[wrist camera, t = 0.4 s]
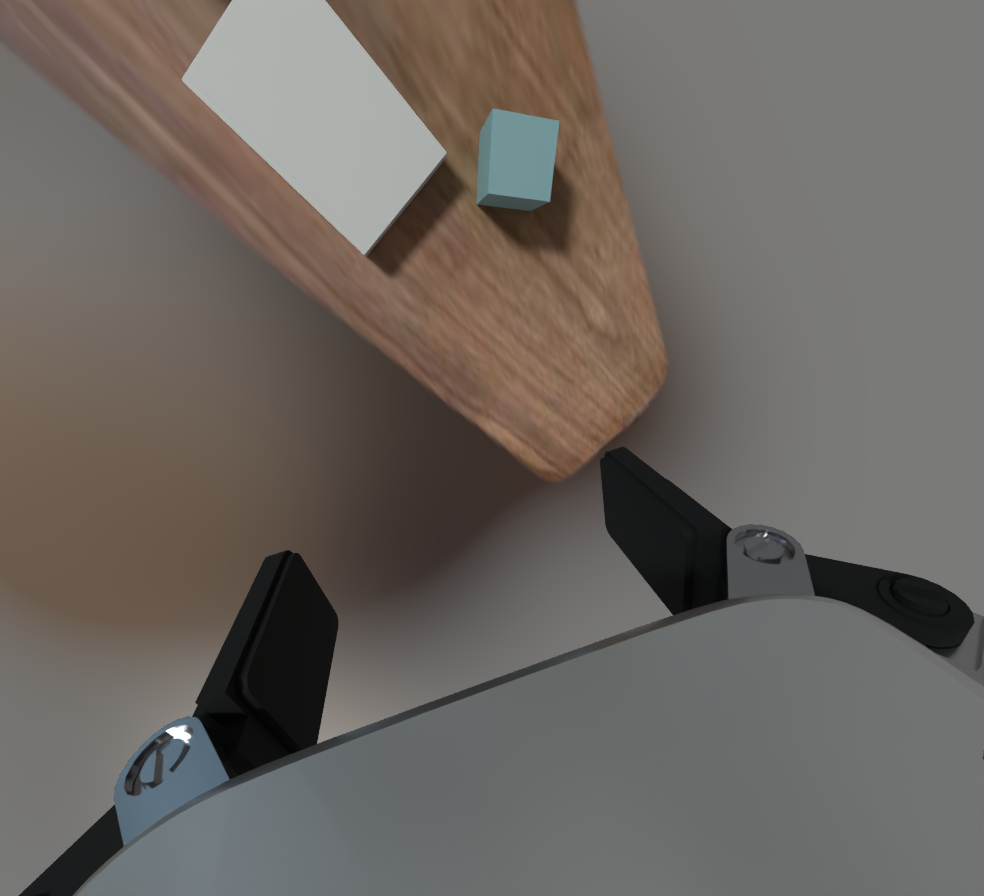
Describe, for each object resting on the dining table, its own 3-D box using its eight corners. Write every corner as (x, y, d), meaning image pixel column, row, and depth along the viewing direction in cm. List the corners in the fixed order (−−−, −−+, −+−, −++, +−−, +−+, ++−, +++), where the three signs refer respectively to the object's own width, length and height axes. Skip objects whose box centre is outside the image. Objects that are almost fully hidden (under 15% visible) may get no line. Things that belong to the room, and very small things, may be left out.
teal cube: (479, 132, 30) (492, 108, 26) (537, 142, 31) (559, 120, 27) (476, 204, 32) (488, 193, 28) (530, 211, 33) (549, 201, 29)
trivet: (200, 96, 26) (181, 80, 24) (285, -34, 24) (273, -65, 22) (366, 256, 32) (364, 255, 30) (443, 161, 30) (446, 152, 28)
